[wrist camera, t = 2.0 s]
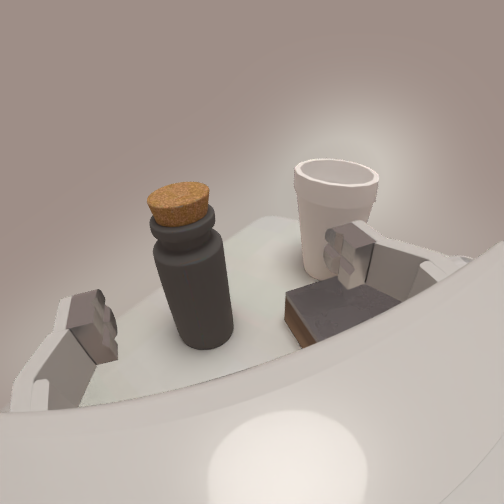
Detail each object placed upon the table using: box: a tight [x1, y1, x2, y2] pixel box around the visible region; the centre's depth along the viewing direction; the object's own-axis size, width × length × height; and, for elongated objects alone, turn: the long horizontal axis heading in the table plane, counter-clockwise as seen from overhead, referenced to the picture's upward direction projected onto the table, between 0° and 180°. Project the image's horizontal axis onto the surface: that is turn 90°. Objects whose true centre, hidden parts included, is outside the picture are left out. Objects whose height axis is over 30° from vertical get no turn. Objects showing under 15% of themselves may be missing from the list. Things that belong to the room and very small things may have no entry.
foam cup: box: [294, 159, 379, 281], centre depth 32 cm, size 10×9×13 cm
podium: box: [284, 275, 402, 349], centre depth 25 cm, size 12×12×4 cm
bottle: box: [147, 182, 233, 350], centre depth 24 cm, size 6×6×15 cm
